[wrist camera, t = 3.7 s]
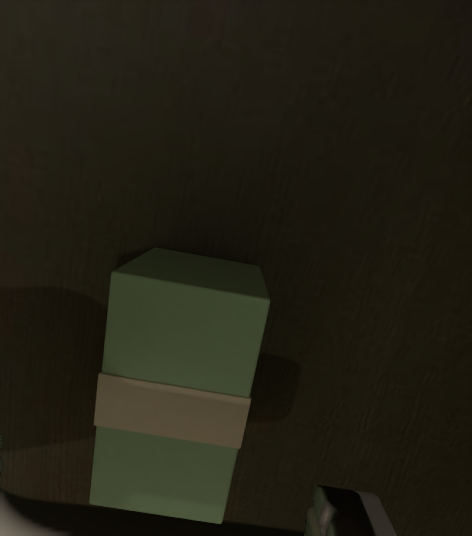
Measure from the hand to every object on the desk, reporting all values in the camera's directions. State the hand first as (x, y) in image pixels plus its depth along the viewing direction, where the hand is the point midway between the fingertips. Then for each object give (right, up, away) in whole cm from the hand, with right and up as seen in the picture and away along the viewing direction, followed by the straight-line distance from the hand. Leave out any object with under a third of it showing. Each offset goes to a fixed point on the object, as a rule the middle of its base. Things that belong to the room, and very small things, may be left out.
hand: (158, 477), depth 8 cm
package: (0, +2, +7) cm, 8 cm away
